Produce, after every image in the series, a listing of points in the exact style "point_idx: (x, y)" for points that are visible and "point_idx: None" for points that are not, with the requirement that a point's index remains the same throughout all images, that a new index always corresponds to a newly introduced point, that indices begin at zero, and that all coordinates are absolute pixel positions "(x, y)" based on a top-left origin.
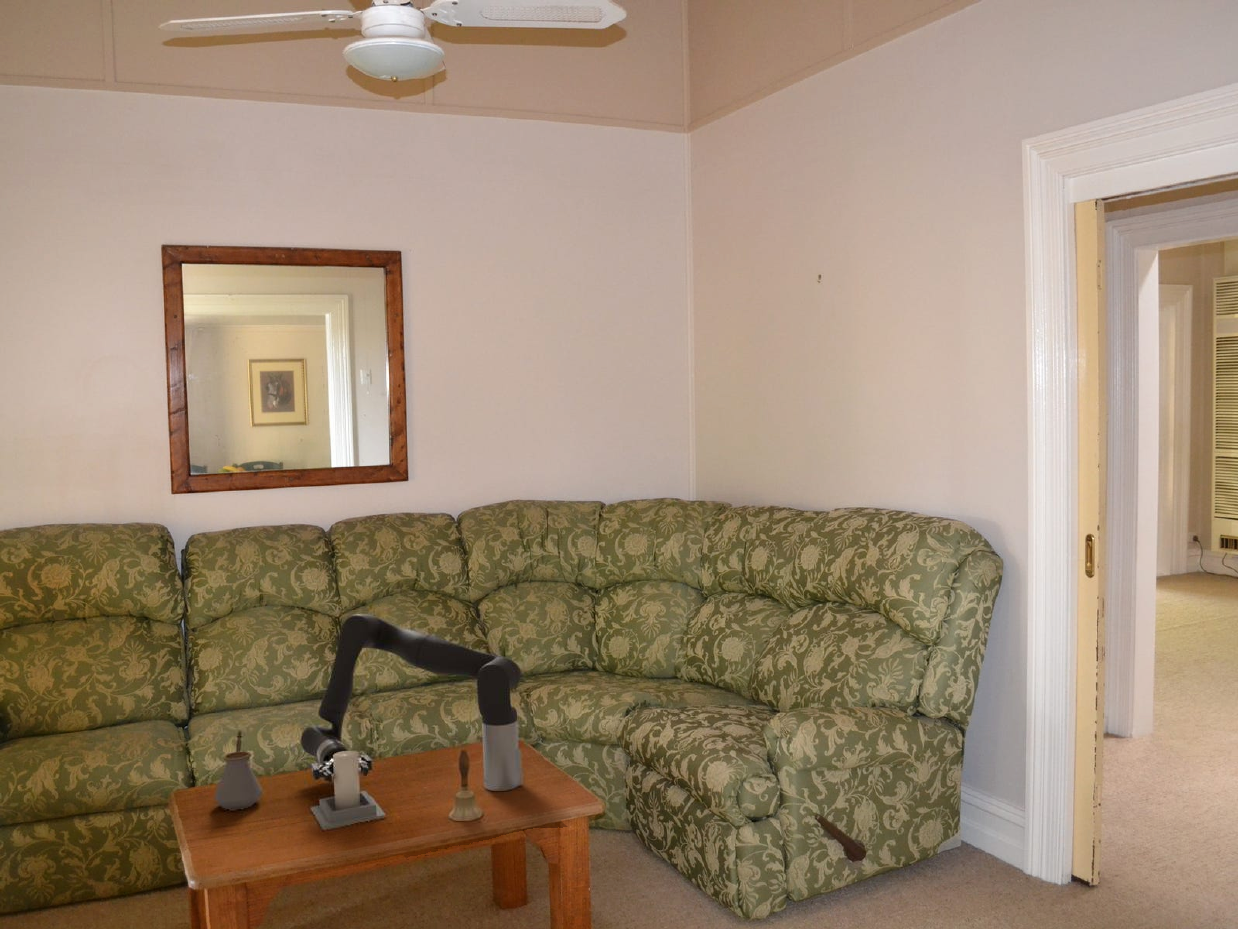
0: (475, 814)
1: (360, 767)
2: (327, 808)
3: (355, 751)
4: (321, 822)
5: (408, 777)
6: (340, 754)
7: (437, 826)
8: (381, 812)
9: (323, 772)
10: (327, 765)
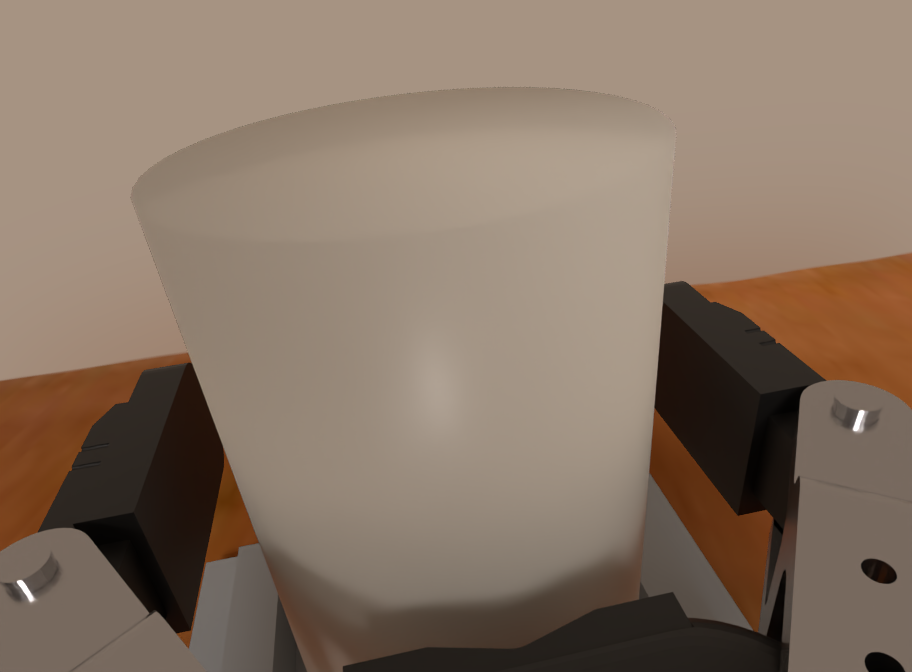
0: None
1: (158, 567)
2: (670, 577)
3: (145, 201)
4: (688, 543)
5: None
6: (514, 137)
7: (45, 419)
8: (213, 611)
9: (816, 374)
10: (871, 493)
